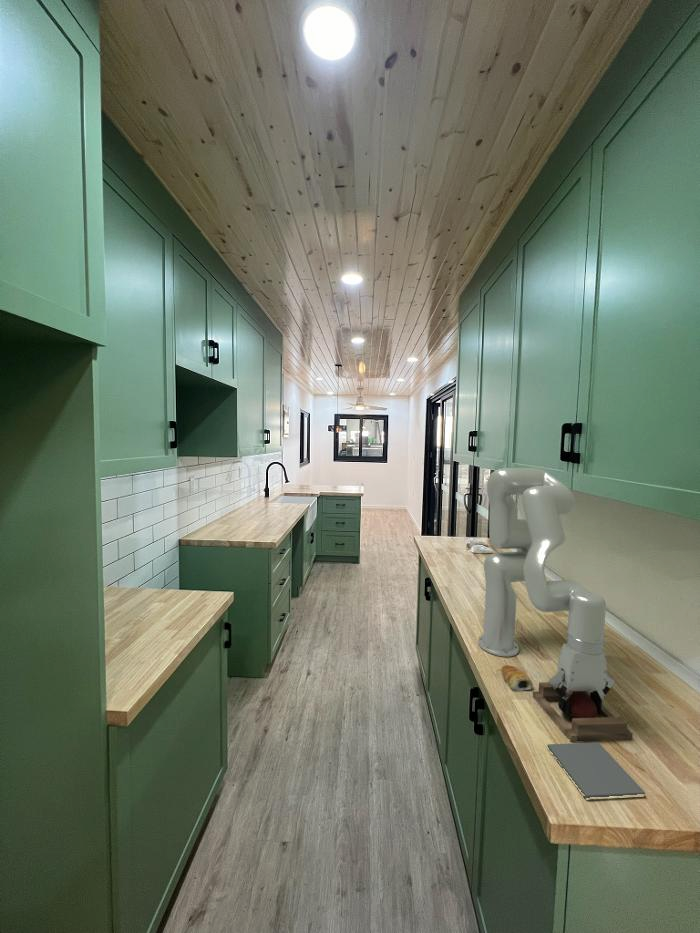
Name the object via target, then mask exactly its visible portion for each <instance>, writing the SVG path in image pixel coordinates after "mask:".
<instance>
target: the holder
mask: <svg viewBox="0 0 700 933" xmlns="http://www.w3.org/2000/svg"><path fill="white" fill-rule="evenodd" d="M561 683H562V681H561V682H560V683H559V684H558V686H560V684H561ZM566 690H567V688H565V690H564V691H563V692H565V691H566ZM584 692H585V693H587V694H588V695H589V696H590V693H591V692H590V691H584ZM532 698H533V699H534V700H535V702H536V703H537V704H538V705H539V706H540V708H543V711H544V713H546V715H547V716H548V717H549V718H550V719H551V721H552V722H553V723H554V724H555V725H556V727H558V729H559V730H560V731H561V733H562V734H563V733H564V734H563V735H564V736H565V737H566V739H567V740H568V739H569V740H570V741H569V740H568V741H569V743H578V742H577V741H585V742H603V741H602V740H610V741H630V740H631V739H632V740H633V735H634V734H633V732H632V731H631V730H630V729H629V728H628V722H627V721H626V720H625V719H624V718H622V717H621V716H615V715H614V714H612V713H611V712H610V711H609V710H608V708H606V707H605V706H604V705H603V704H602V709H601V715H600V717H597V718H574V717H572V718H571V727H570V726H569V724H568V723H567V722H566V721H565V720H564V718H562V716H561V715H560V714H559V713H558V712H557V711H556V710H555V709H554V707H553V706H552V705H551V704H550V703H555V702H557V703H559V694H558V693H557V692H556V691H555V690H554V689H553V687H552V686H551V684H550V683H549V681H545V682H544V681H543V682H542V681H541V682H540V681H539V682H538V691H533V692H532ZM549 702H550V703H549ZM599 740H601V741H599ZM574 741H575V742H574Z"/></svg>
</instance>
